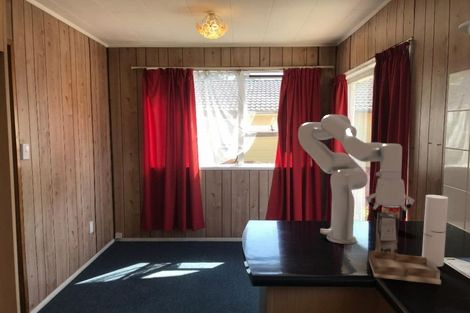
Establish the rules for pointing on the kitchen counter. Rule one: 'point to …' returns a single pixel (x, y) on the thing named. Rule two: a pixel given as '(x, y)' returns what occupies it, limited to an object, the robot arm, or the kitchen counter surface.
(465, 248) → the kitchen counter surface
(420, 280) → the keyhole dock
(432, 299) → the kitchen counter surface
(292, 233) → the kitchen counter surface
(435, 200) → the cylindrical container
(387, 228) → the coffee box
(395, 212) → the canned food
